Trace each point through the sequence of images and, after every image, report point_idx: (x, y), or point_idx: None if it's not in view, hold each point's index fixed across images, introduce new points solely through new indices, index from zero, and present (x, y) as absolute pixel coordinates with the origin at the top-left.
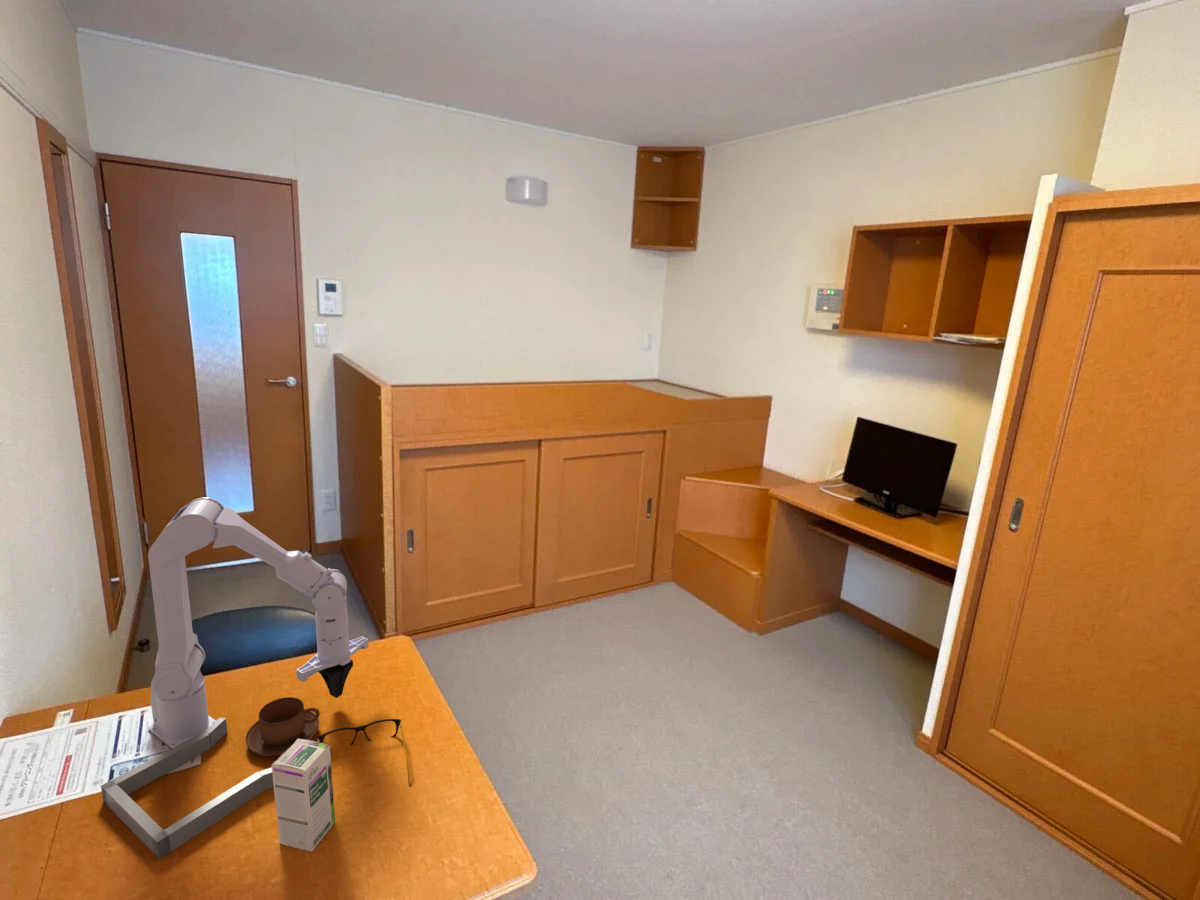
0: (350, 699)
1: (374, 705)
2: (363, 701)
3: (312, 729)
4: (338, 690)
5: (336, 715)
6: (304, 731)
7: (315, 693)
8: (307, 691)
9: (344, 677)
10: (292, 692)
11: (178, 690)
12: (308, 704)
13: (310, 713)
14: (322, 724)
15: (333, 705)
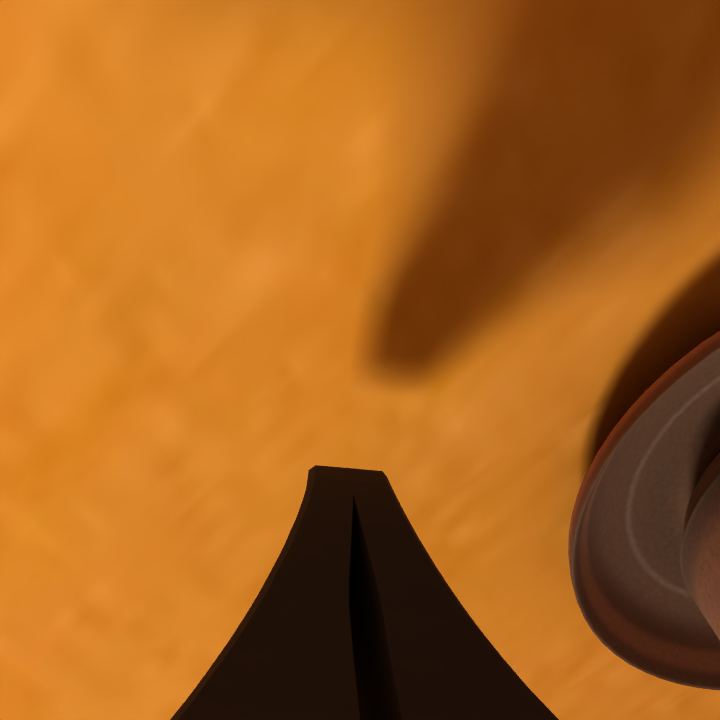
0: (208, 400)
1: (123, 128)
2: (154, 282)
3: (706, 363)
4: (383, 523)
5: (435, 344)
6: (712, 403)
7: None
8: None
9: (297, 650)
10: None
11: None
12: None
13: (588, 505)
14: (577, 356)
15: (344, 453)
